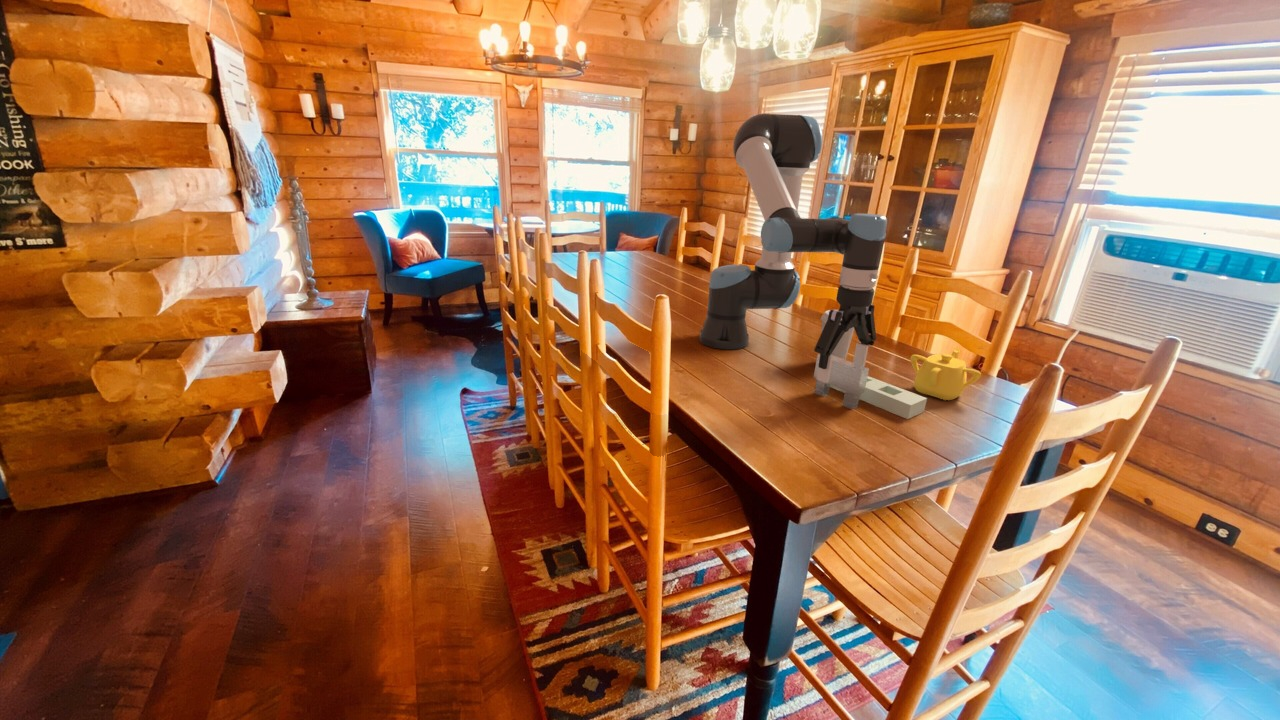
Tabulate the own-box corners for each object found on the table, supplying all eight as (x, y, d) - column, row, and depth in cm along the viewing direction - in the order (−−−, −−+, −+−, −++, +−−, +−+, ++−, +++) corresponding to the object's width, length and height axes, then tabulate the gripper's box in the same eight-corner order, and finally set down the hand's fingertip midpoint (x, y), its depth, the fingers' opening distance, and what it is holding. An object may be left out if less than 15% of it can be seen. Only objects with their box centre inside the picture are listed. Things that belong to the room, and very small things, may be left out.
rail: (825, 384, 134) (827, 372, 133) (841, 379, 138) (844, 367, 137) (907, 419, 118) (910, 405, 117) (923, 411, 122) (927, 398, 120)
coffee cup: (844, 359, 152) (853, 310, 146) (853, 372, 143) (863, 319, 138) (810, 357, 153) (818, 307, 147) (817, 370, 144) (826, 317, 138)
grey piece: (811, 392, 130) (817, 354, 126) (818, 389, 131) (824, 352, 128) (853, 411, 121) (862, 371, 117) (861, 408, 122) (869, 368, 119)
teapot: (899, 380, 139) (908, 343, 136) (949, 382, 139) (959, 346, 135) (922, 402, 127) (932, 363, 123) (977, 405, 126) (988, 366, 122)
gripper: (836, 296, 106) (820, 392, 114) (903, 284, 120) (885, 370, 127) (806, 288, 112) (793, 380, 120) (873, 277, 126) (857, 360, 133)
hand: (840, 375), depth 124 cm, fingers open, 13 cm apart
